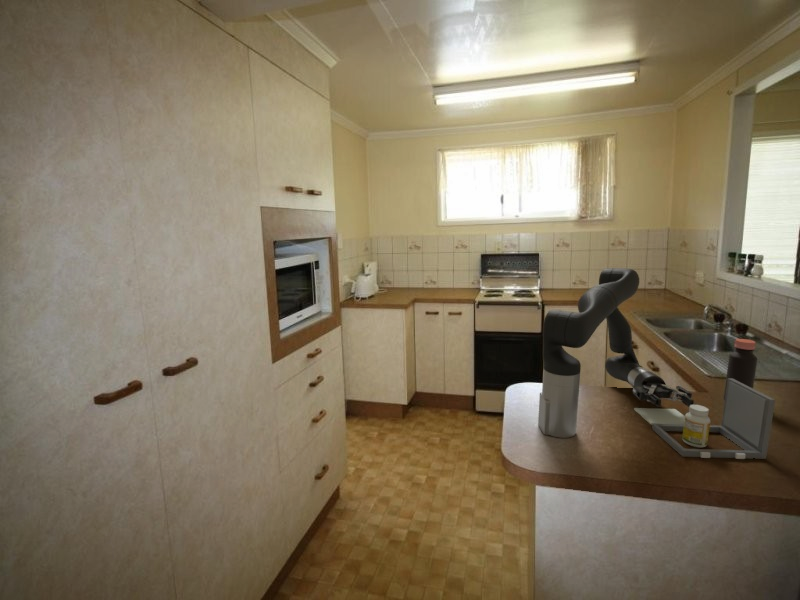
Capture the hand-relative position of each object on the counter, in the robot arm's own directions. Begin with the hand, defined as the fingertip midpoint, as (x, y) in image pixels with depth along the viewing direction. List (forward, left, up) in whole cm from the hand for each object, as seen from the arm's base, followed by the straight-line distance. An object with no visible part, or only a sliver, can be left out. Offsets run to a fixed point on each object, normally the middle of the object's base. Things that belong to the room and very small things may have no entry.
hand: (675, 403), depth 116 cm
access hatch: (+2, -9, -7) cm, 12 cm away
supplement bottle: (0, -9, -7) cm, 12 cm away
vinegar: (+29, +18, -7) cm, 35 cm away
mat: (0, +5, -7) cm, 8 cm away
